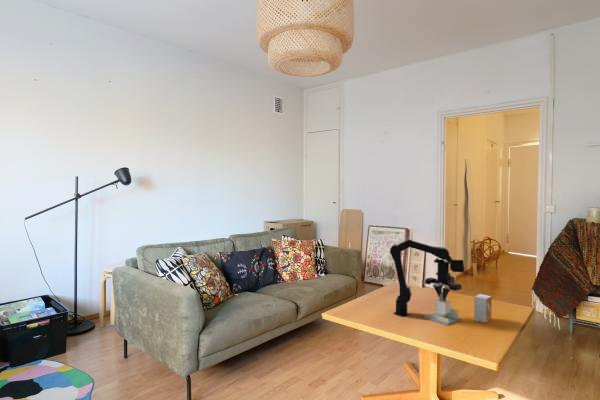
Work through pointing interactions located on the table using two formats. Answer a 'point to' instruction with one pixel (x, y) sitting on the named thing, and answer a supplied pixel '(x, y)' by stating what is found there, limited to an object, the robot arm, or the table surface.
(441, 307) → the block with grey handle
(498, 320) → the table surface
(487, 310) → the small box
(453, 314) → the cleat board
